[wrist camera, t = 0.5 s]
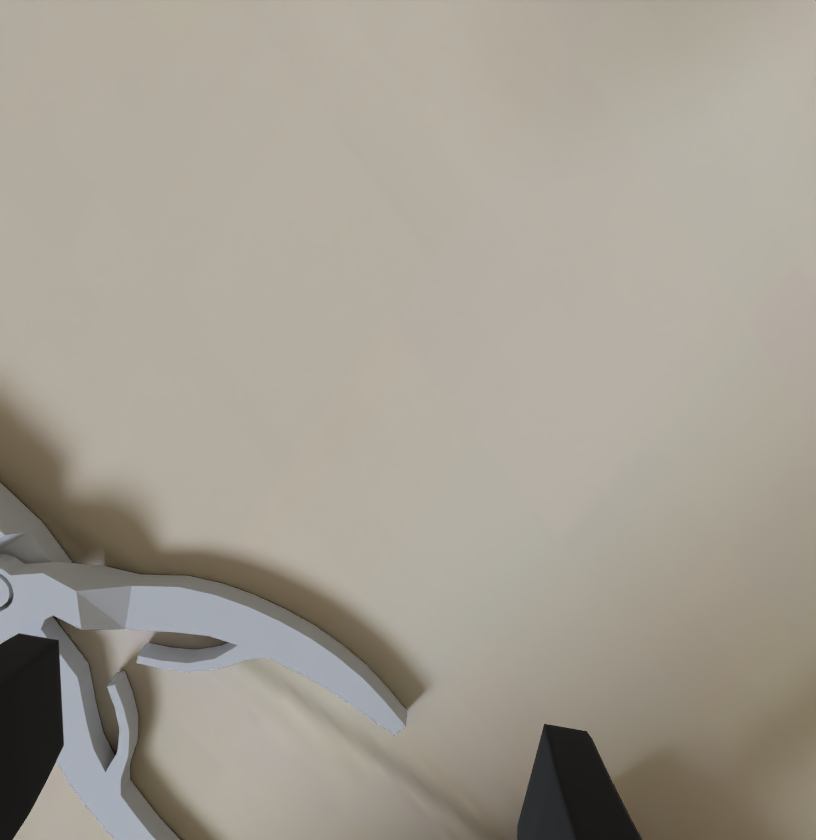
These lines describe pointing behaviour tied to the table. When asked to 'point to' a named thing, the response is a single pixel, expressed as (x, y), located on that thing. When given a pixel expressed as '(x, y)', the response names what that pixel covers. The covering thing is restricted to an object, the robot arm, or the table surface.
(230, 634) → the pliers
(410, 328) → the table surface
